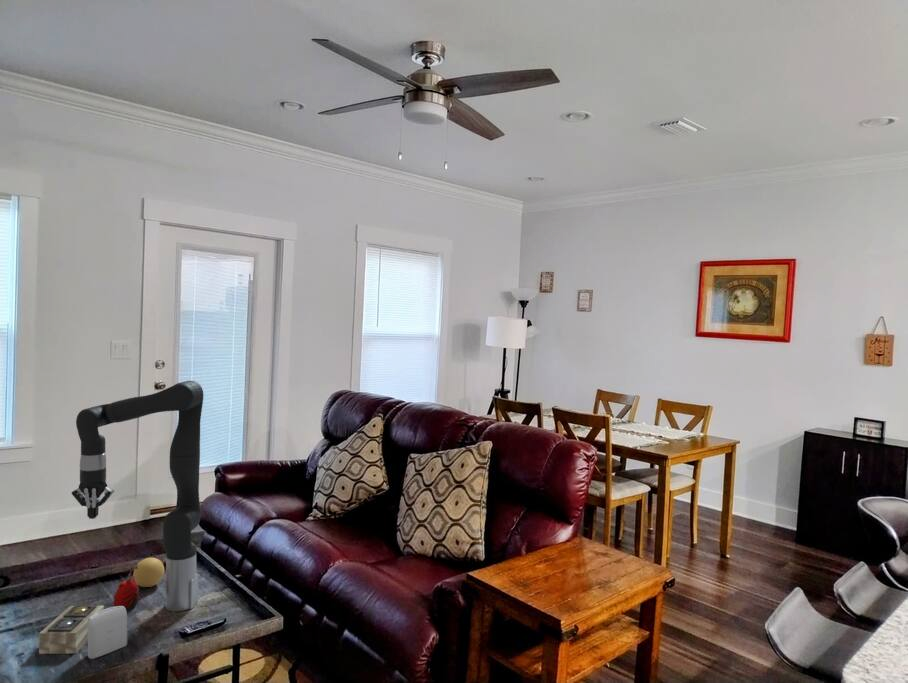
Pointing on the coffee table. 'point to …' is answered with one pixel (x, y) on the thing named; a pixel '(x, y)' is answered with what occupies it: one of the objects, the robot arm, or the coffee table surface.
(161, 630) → the coffee table surface
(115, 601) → the red clay folk toy
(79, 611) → the peg brass
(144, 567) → the stress ball
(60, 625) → the peg steel
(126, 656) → the coffee table surface
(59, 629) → the birch block
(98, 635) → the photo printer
